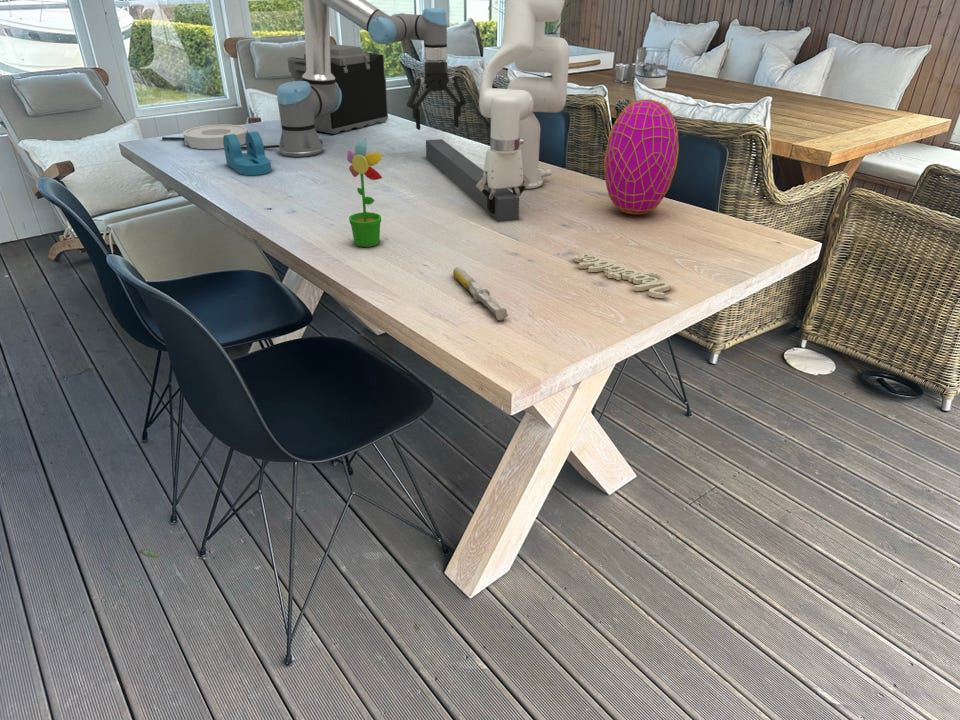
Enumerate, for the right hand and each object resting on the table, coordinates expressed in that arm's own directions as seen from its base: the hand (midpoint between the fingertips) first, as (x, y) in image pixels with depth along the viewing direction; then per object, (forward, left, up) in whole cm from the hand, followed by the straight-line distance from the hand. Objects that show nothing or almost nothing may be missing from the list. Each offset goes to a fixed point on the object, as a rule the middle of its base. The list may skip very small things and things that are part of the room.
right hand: (502, 210), depth 190 cm
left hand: (-7, -62, +10) cm, 63 cm away
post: (-3, -31, -1) cm, 31 cm away
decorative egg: (-35, +13, -1) cm, 37 cm away
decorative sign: (-6, +48, -1) cm, 49 cm away
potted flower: (+41, +5, -1) cm, 41 cm away
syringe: (+29, +45, -1) cm, 54 cm away
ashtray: (+60, -120, -1) cm, 134 cm away
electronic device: (+8, -131, -1) cm, 131 cm away
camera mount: (+55, -77, -1) cm, 94 cm away
